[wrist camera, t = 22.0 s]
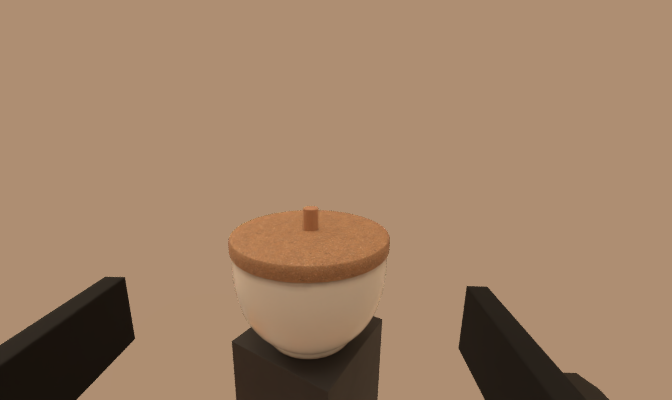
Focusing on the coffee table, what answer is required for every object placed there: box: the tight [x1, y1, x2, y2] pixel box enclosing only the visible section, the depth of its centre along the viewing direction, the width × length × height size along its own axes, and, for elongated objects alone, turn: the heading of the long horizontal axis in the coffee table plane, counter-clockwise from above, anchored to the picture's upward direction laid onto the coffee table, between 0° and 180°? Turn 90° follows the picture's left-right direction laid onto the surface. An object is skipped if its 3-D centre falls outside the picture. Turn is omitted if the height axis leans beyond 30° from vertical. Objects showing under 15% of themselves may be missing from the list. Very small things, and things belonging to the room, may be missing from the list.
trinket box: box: [228, 206, 390, 359], centre depth 22 cm, size 11×11×9 cm
